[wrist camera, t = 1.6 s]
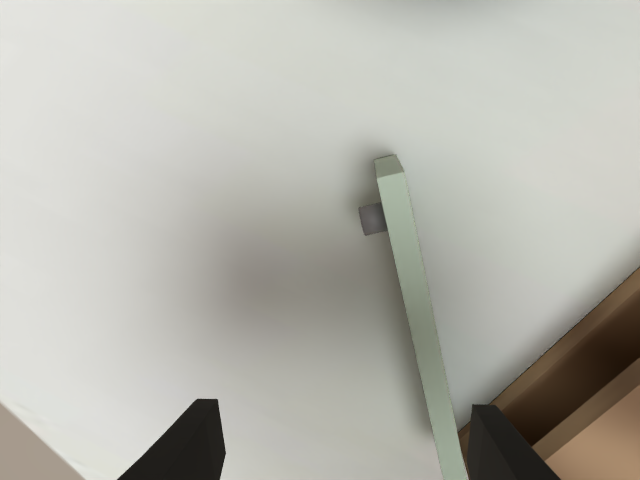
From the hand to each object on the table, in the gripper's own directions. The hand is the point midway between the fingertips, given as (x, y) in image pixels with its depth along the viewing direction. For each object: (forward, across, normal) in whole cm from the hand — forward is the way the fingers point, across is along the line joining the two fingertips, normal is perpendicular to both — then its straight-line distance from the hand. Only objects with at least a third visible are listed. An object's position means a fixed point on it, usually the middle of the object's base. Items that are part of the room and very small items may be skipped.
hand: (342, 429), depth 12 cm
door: (+10, -3, +2) cm, 11 cm away
